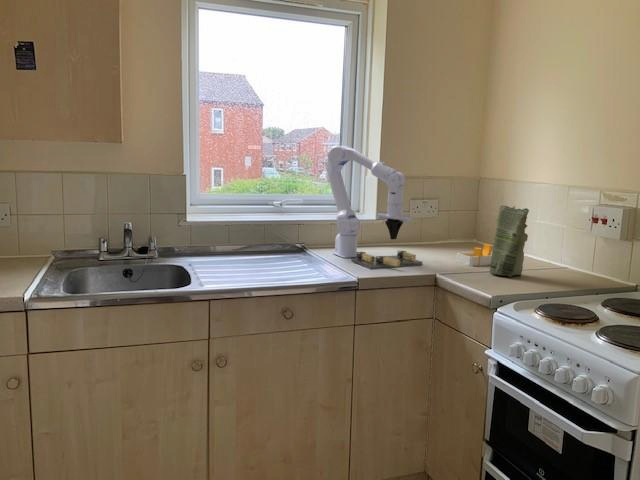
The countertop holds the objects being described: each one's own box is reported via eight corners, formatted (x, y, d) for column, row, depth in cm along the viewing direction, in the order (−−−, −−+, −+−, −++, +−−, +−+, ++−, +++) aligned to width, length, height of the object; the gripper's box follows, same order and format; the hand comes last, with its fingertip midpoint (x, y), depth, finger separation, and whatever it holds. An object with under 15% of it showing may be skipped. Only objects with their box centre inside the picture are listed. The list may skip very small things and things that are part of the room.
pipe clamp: (480, 259, 231) (481, 243, 230) (490, 260, 229) (492, 245, 227) (468, 263, 222) (469, 247, 221) (478, 265, 219) (480, 249, 218)
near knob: (374, 262, 212) (374, 256, 211) (380, 261, 214) (380, 255, 214) (395, 266, 205) (395, 260, 205) (401, 265, 208) (401, 259, 207)
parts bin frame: (455, 261, 225) (456, 253, 225) (488, 259, 233) (488, 250, 232) (470, 266, 218) (471, 257, 217) (503, 263, 225) (504, 254, 224)
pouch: (491, 270, 211) (496, 203, 207) (525, 274, 207) (531, 205, 203) (487, 276, 201) (493, 205, 197) (523, 280, 197) (530, 208, 193)
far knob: (395, 256, 225) (395, 250, 225) (403, 255, 227) (403, 250, 226) (409, 261, 216) (410, 255, 216) (417, 260, 218) (417, 254, 218)
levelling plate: (351, 261, 220) (351, 255, 219) (401, 258, 230) (401, 252, 229) (370, 268, 207) (370, 263, 207) (422, 264, 217) (422, 259, 217)
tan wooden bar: (354, 257, 220) (354, 252, 219) (362, 257, 221) (362, 251, 221) (367, 262, 211) (367, 256, 211) (376, 261, 213) (376, 256, 212)
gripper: (373, 203, 220) (372, 237, 222) (405, 206, 211) (403, 242, 213) (384, 201, 226) (382, 236, 228) (415, 205, 216) (413, 240, 218)
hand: (393, 239), depth 221 cm, fingers closed
